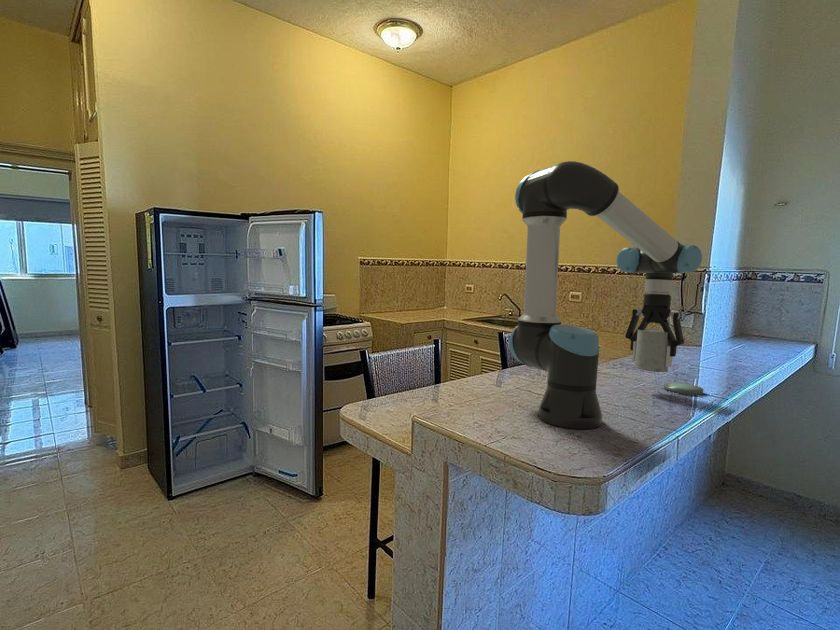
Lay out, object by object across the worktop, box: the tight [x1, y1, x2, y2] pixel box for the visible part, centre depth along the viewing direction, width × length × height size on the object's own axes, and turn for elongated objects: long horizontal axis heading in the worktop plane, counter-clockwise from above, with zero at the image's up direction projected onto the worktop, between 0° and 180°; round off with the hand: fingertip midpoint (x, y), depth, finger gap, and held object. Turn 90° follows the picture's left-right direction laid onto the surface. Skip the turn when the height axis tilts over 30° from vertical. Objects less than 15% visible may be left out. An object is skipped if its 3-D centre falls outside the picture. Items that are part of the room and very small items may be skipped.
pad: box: [663, 382, 704, 396], centre depth 142 cm, size 11×11×2 cm
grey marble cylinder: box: [634, 328, 670, 373], centre depth 139 cm, size 10×10×12 cm
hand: (651, 363), depth 139 cm, fingers closed on grey marble cylinder, 9 cm apart
